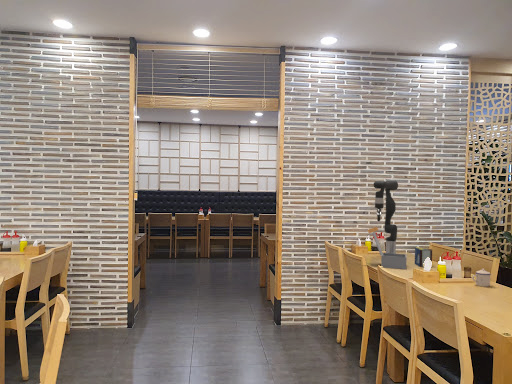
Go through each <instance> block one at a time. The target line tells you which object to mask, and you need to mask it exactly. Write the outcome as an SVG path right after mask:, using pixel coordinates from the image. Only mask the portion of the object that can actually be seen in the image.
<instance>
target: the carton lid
mask: <svg viewBox="0 0 512 384" xmlns="http://www.w3.org/2000/svg"><path fill="white" fill-rule="evenodd" d="M378 231H379V228H378V226H375V227H371V228H368V229H367V232H368V234H371V233H372V236H373V239H374V241H375V245H376V247H377V249H378V252H379V255H380V256H382V253H384V252H383V250H382V248H381V245H380V242H379V239H378V236H377V234H376V232H378Z"/></svg>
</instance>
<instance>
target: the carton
mask: <svg viewBox="0 0 512 384" xmlns="http://www.w3.org/2000/svg"><path fill="white" fill-rule="evenodd" d="M407 255H408V254H406V253H405V254H404V253H396V254H395V253H386V252H383V253H382V255H381V256H380V257H381V258H380V259H381V261H380V262H381V263H380V264H381V265H380V266H383V267H384V269H385V268H386V269H399V270H407V262H408V261H407V258H408V257H407ZM383 267H382V268H383Z"/></svg>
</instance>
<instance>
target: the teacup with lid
mask: <svg viewBox="0 0 512 384" xmlns="http://www.w3.org/2000/svg"><path fill="white" fill-rule="evenodd" d="M471 279H472V281H474V282H475V285H476V286H479V287H487V288H488V287H490V286H491V272H489V271H487V270H485V268H481V269H480V270H477V271H475V274H473V275H472V277H471Z"/></svg>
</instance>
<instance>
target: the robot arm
mask: <svg viewBox="0 0 512 384" xmlns="http://www.w3.org/2000/svg"><path fill="white" fill-rule="evenodd" d="M373 187H374V189H377V191H375V192H374V193H375V194H374V195H375V197H374V208H375V209H376V218H377V219H376V220H377V222H380V221H381V217H382V209H384V204H385V214H384V215H385V216H384V217H385V220H384V227H383V228H384V232H385V233H386V234H390V236H386V238H385V253H395V254H397V252H396V251H397V250H396V249H397V238H398V226H397V224H392V223H391V220H392V217H393V216H394V214H395V213H396V209H397V208H396V207H397V205H396V202H395V200H394V198H393V197H392V195H391V191H397V190H398V189H399V183H398V181H397V180H386V181H385V180H375V181H374V182H373ZM378 189H380V190H378ZM384 193H385V199H384ZM384 200H385V201H384ZM384 202H385V203H384Z"/></svg>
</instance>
